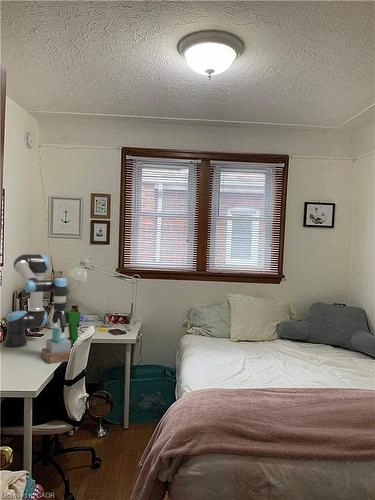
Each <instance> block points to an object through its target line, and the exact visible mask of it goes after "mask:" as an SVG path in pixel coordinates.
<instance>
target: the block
mask: <svg viewBox="0 0 375 500" xmlns="http://www.w3.org/2000/svg"><path fill="white" fill-rule="evenodd" d="M51 335H52V336H51V337H52V338H51V339H52V340H53V341H54V342H61V341H65V338H66V336H65V337H64V338H60V326H58V327H56V328H53V327H52V334H51Z"/></svg>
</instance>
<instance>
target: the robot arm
mask: <svg viewBox="0 0 375 500" xmlns="http://www.w3.org/2000/svg"><path fill="white" fill-rule="evenodd" d="M13 269H14V270H15V271H16V273H18V274H19V275H20V277H21V279H22V280H23V282H24V291H25V292H26V293H30V295H29V296H30V303H29V304H30V305H29V308H28V309H27V312H26V311H25V310H16V311H12V312H10V313H8V314H7V318H6V319H7V320H6V322H7V323H6V336H5V338H4V341H3V346H4V347H7V348H20V347H24V346H27V344H28V340H27V336H26V333H25V331H26V330H29V329H39V328H44V327H45V326H46V324H47V322H48V312H47V311H45V308H44V307H43V301H44V298H43V297H44V293H46V292H48V293H49V292H53V297H52V299H53V315H52V319H51V321H52V323H53V325H52V329H53V328H56V327H60V338H64V337H65V338H66V327H67V323H66V318H65V311H66V310H64V309H66V307H67V303H66V302H67V285H68V283H67V282H68V281H67V279H66V278H64V277H55V278H53V279H52V278H51V279H44V275H45V274H46V273H47V272H46V271H48V270H49V269H50V262H49V258H48V256H47V255H45V254H32V253H31V254H24V253H23V254H21V255H19V256H18V257H16V258H15V259H14V262H13ZM58 323H59V324H60V326H59V324H58Z"/></svg>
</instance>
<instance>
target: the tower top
mask: <svg viewBox="0 0 375 500" xmlns="http://www.w3.org/2000/svg"><path fill="white" fill-rule="evenodd" d="M66 338H67V337H65V341H61V342H54V341H53V340H52V338H48V339H46V344H45V346H46V349H47V350H48V351H49V352H51V353H60V352H67V351H71V349H72V348H71V341H69V340H68V339H66Z"/></svg>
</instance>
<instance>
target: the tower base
mask: <svg viewBox="0 0 375 500" xmlns="http://www.w3.org/2000/svg"><path fill="white" fill-rule="evenodd" d="M70 352H71V351H67V352H60V353H51V352H49V351H48V350H47V349H46V348H42V349H41V358H42V357H43V358H44V359H43V358H42V359H43V360H45V362H47V363H48V365H51V364H52V363H53V364H59V363H65V362H69V361H68V358H69V355H70ZM53 364H52V365H53Z"/></svg>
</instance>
